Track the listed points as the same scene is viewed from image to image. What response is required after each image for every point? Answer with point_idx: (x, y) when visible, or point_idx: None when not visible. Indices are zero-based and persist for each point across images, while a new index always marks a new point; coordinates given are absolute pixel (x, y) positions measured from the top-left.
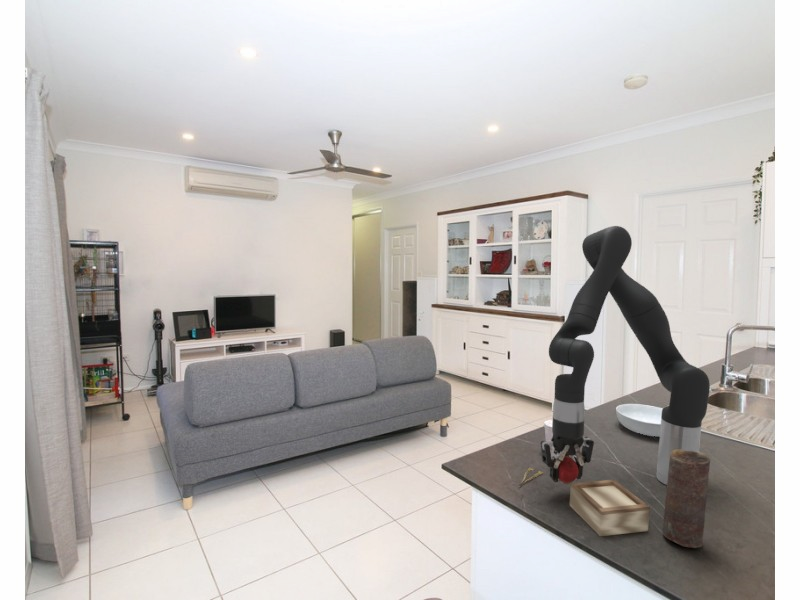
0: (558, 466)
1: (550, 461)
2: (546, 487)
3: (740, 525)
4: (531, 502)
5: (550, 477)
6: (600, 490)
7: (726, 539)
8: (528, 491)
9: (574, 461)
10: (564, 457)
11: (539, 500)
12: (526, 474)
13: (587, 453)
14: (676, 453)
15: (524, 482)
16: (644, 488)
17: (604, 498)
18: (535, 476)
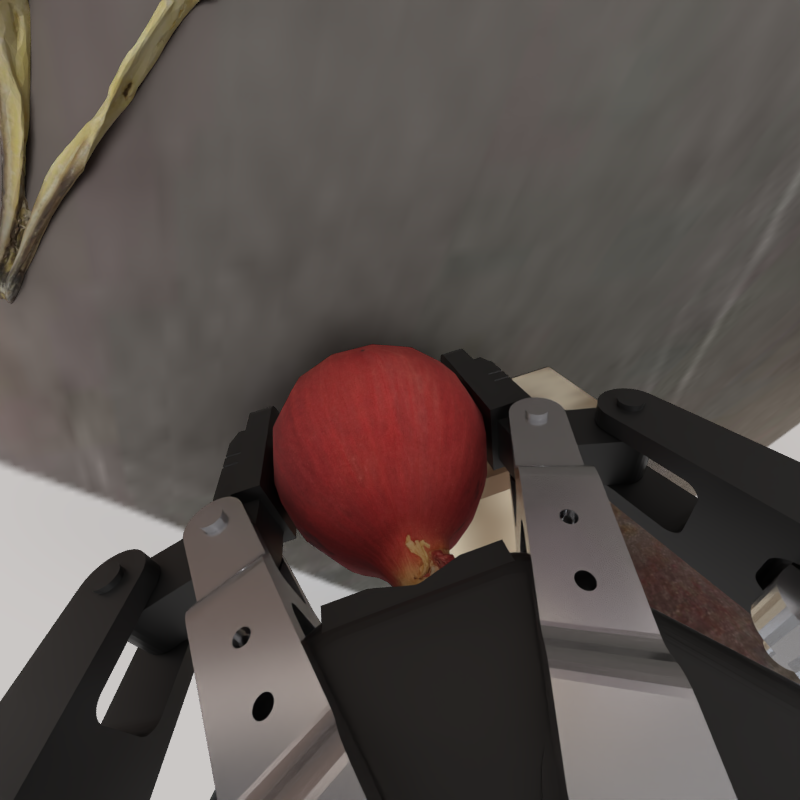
0: (298, 529)
1: (181, 671)
2: (246, 268)
3: (768, 423)
4: (143, 444)
5: (240, 434)
6: (500, 498)
7: (679, 479)
8: (106, 337)
9: (474, 515)
10: (379, 575)
11: (192, 419)
12: (16, 5)
13: (669, 545)
14: None
15: (37, 222)
16: (763, 233)
17: (478, 545)
18: (140, 74)
